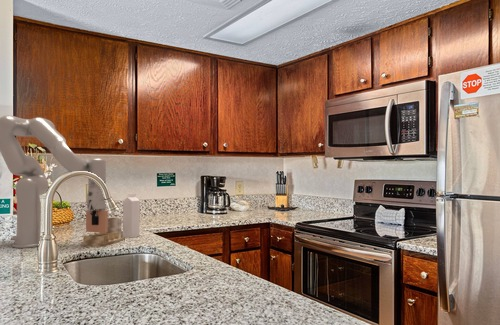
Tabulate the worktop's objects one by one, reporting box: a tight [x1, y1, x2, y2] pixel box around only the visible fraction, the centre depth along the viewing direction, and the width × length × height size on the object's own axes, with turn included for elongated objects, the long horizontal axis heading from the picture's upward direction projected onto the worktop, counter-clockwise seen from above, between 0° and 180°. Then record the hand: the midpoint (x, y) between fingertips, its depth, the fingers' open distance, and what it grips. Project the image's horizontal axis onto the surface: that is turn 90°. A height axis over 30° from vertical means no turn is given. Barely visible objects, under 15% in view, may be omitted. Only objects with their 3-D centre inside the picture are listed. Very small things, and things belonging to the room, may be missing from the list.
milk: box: [122, 193, 141, 239], centre depth 203 cm, size 6×6×22 cm
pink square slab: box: [85, 209, 109, 233], centre depth 180 cm, size 10×2×10 cm, turn 77°
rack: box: [80, 216, 126, 247], centre depth 186 cm, size 12×18×11 cm, turn 167°
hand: (96, 224), depth 180 cm, fingers closed on pink square slab, 2 cm apart
